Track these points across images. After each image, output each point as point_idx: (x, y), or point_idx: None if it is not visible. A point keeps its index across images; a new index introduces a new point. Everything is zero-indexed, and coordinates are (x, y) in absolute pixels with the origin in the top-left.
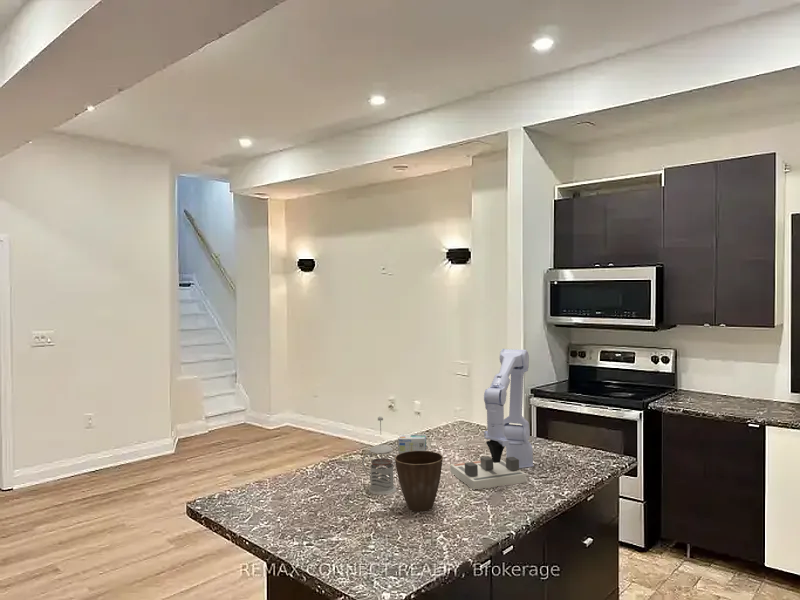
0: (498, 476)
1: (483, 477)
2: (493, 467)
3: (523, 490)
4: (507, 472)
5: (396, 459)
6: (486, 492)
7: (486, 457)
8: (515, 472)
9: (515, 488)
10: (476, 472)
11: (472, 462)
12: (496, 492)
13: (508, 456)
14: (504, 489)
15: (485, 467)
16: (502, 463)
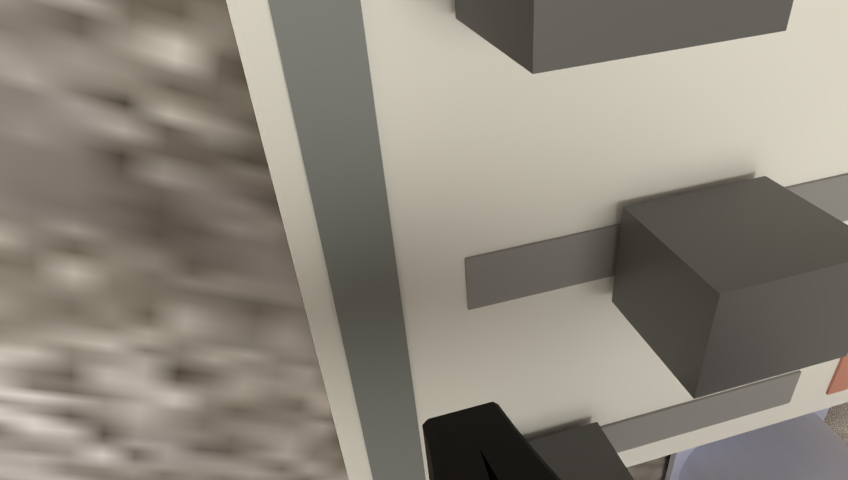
0: (345, 308)
1: (356, 94)
2: None
3: (127, 429)
4: None
5: None
6: (64, 13)
7: (817, 329)
8: None
9: (201, 375)
10: (474, 5)
11: (756, 15)
12: (62, 157)
13: (812, 477)
14: (180, 271)
15: (650, 225)
16: (731, 404)
